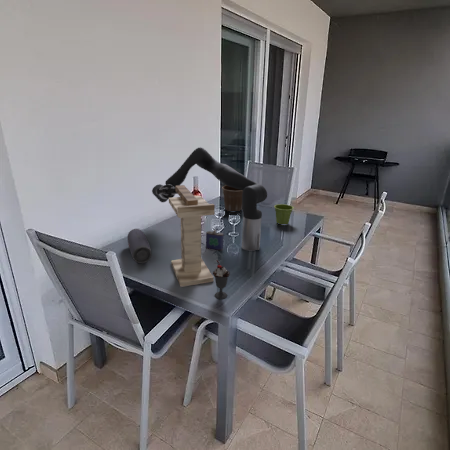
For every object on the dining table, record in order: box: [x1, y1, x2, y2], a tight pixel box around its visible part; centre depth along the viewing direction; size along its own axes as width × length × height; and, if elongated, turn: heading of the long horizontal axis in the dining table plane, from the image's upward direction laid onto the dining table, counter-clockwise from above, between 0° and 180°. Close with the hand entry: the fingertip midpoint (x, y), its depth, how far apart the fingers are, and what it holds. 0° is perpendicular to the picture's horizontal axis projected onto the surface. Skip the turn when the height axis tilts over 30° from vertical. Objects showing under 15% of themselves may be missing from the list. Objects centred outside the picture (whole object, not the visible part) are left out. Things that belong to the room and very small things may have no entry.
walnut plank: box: [175, 184, 198, 206], centre depth 134 cm, size 24×4×2 cm, turn 20°
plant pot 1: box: [221, 184, 243, 212], centre depth 218 cm, size 16×16×16 cm
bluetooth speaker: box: [127, 228, 152, 264], centre depth 152 cm, size 23×9×10 cm, turn 22°
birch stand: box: [168, 195, 216, 288], centre depth 133 cm, size 20×14×34 cm
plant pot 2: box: [273, 203, 295, 225], centre depth 196 cm, size 12×12×11 cm
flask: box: [205, 229, 225, 252], centre depth 160 cm, size 9×3×11 cm, turn 74°
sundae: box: [212, 259, 231, 300], centre depth 121 cm, size 7×7×15 cm
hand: (173, 190), depth 153 cm, fingers open, 8 cm apart
